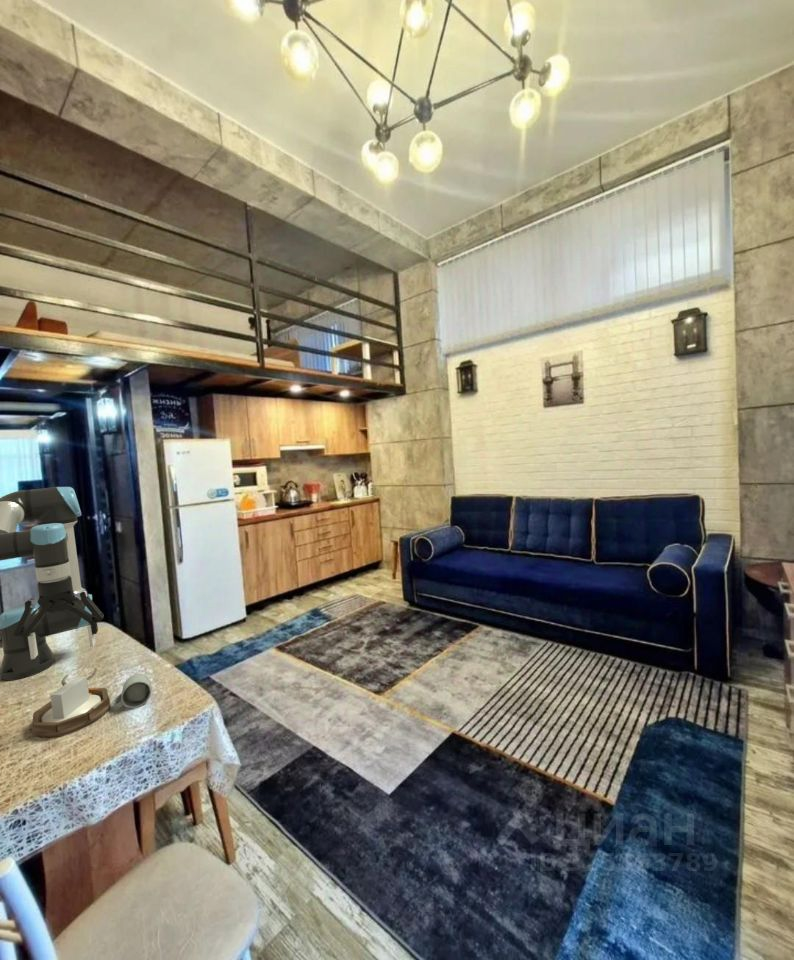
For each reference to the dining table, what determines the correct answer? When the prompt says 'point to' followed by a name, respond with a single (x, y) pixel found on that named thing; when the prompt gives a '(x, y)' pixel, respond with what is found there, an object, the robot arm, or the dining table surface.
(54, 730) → the dial housing
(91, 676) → the pliers
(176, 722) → the dining table surface
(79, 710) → the dial
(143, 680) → the ceramic mug
